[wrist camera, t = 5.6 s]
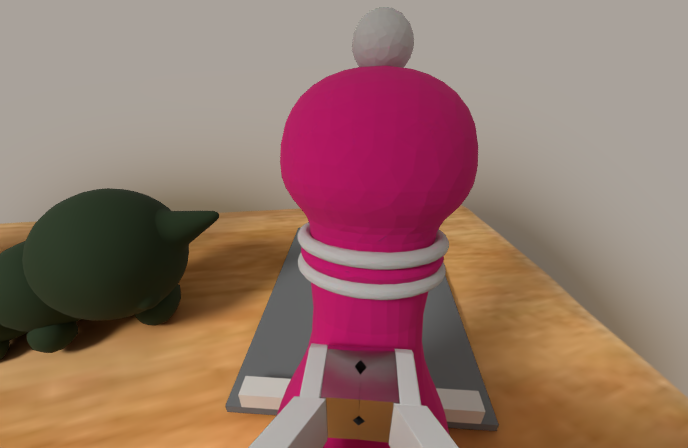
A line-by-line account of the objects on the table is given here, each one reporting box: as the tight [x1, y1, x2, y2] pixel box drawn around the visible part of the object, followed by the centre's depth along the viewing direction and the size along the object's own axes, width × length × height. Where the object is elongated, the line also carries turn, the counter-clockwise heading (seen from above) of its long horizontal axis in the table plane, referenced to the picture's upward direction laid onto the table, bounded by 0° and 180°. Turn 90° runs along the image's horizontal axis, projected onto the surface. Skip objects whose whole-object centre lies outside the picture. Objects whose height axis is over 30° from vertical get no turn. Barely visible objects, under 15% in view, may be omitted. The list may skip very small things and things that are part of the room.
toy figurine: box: [0, 189, 219, 359], centre depth 20 cm, size 9×19×25 cm
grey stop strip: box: [238, 376, 485, 424], centre depth 18 cm, size 1×14×2 cm, turn 86°
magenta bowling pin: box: [277, 7, 478, 448], centre depth 11 cm, size 7×7×20 cm
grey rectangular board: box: [226, 228, 499, 431], centre depth 28 cm, size 22×16×1 cm
